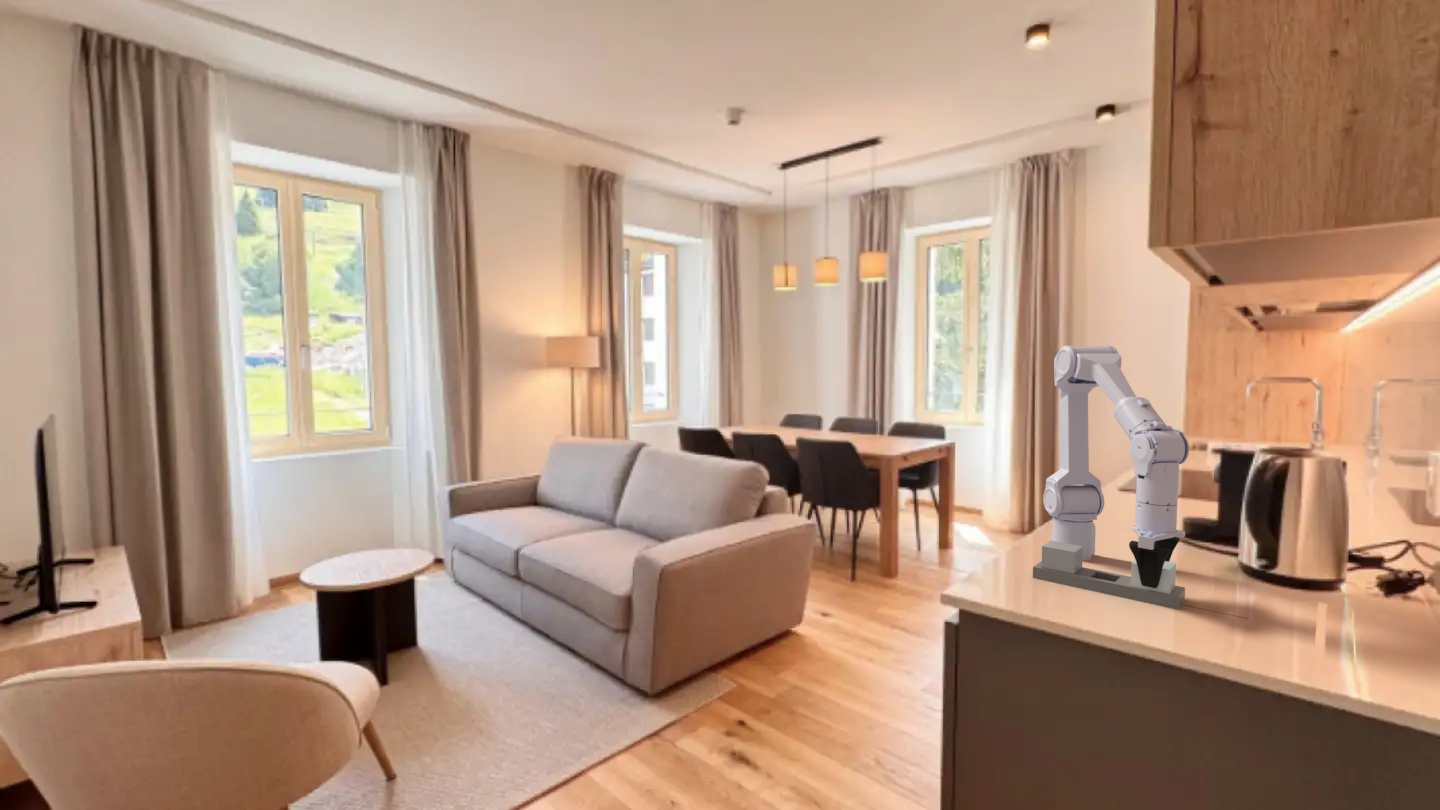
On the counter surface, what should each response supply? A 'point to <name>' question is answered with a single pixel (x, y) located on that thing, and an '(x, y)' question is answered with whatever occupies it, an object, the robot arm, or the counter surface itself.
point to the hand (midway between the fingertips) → (1153, 582)
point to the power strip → (1097, 577)
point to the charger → (1165, 581)
